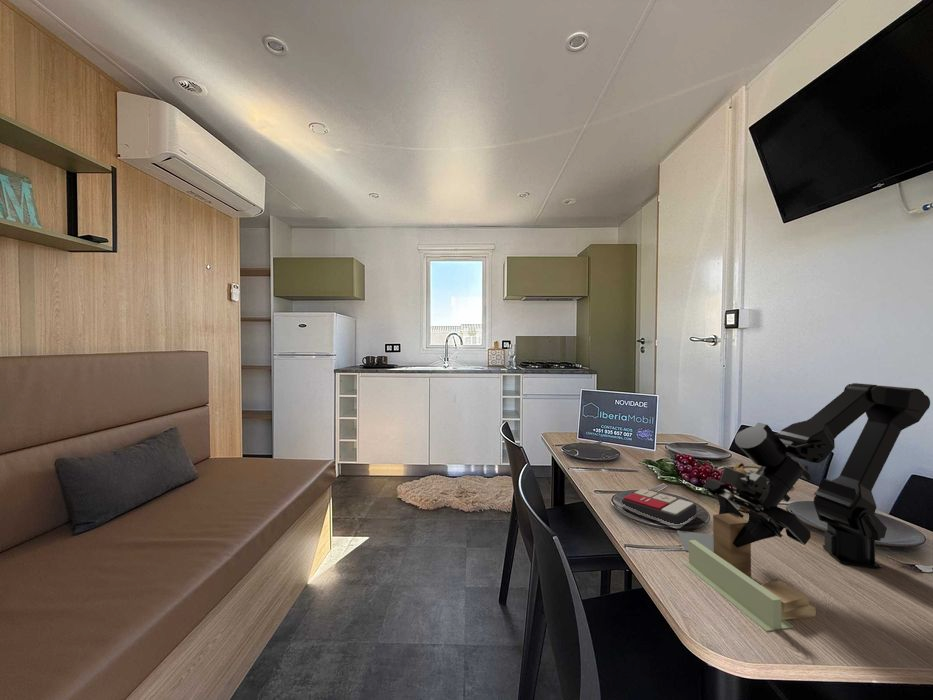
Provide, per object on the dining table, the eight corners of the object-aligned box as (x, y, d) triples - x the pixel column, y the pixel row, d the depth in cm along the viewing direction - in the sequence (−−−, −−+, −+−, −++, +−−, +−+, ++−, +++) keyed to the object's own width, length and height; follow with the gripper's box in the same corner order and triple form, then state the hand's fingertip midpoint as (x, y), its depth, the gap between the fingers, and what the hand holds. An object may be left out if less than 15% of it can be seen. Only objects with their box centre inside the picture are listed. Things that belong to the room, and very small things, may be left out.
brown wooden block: (733, 565, 75) (732, 512, 75) (751, 578, 71) (750, 522, 71) (713, 568, 74) (713, 514, 74) (730, 580, 70) (729, 524, 70)
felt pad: (725, 538, 85) (725, 536, 85) (739, 559, 77) (739, 558, 77) (676, 532, 89) (676, 530, 89) (685, 552, 80) (685, 550, 80)
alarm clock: (788, 482, 110) (728, 465, 118) (785, 497, 111) (725, 480, 119) (782, 471, 120) (727, 456, 128) (778, 485, 120) (724, 469, 128)
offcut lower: (785, 596, 66) (785, 588, 66) (815, 616, 61) (815, 607, 61) (751, 599, 65) (751, 590, 65) (779, 620, 60) (779, 611, 60)
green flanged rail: (705, 562, 76) (704, 538, 76) (793, 628, 58) (793, 597, 58) (683, 564, 75) (683, 541, 75) (766, 632, 58) (766, 601, 58)
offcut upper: (779, 588, 65) (780, 580, 65) (808, 605, 61) (809, 596, 61) (755, 594, 64) (756, 585, 64) (784, 612, 59) (784, 603, 59)
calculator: (641, 487, 108) (696, 501, 96) (642, 501, 108) (697, 517, 96) (620, 496, 102) (677, 513, 90) (621, 512, 102) (678, 530, 90)
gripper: (710, 442, 82) (666, 494, 81) (796, 470, 64) (741, 538, 62) (741, 474, 83) (699, 526, 82) (834, 510, 65) (781, 579, 63)
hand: (725, 539), depth 72 cm, fingers closed on brown wooden block, 4 cm apart
